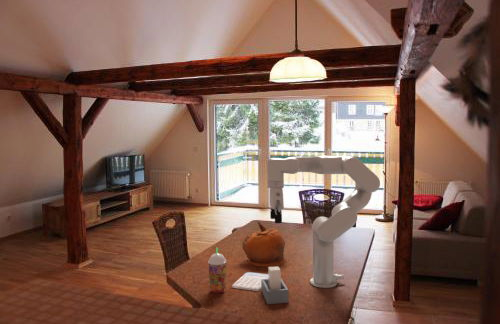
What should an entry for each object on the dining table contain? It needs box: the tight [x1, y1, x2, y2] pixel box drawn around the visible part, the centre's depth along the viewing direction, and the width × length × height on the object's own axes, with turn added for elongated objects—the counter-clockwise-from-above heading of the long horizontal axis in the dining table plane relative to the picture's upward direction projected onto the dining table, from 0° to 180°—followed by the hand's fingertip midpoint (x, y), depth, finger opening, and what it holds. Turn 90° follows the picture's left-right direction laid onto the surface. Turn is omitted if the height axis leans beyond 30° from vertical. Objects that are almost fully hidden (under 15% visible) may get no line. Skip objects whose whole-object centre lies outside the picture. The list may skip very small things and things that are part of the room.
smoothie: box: [207, 247, 227, 294], centre depth 176 cm, size 8×8×20 cm
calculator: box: [231, 271, 268, 292], centre depth 187 cm, size 13×20×2 cm, turn 160°
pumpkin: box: [241, 220, 287, 268], centre depth 220 cm, size 22×25×23 cm
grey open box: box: [261, 278, 290, 305], centre depth 169 cm, size 9×14×6 cm, turn 8°
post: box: [267, 266, 282, 290], centre depth 169 cm, size 4×4×12 cm
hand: (276, 220), depth 182 cm, fingers open, 9 cm apart
